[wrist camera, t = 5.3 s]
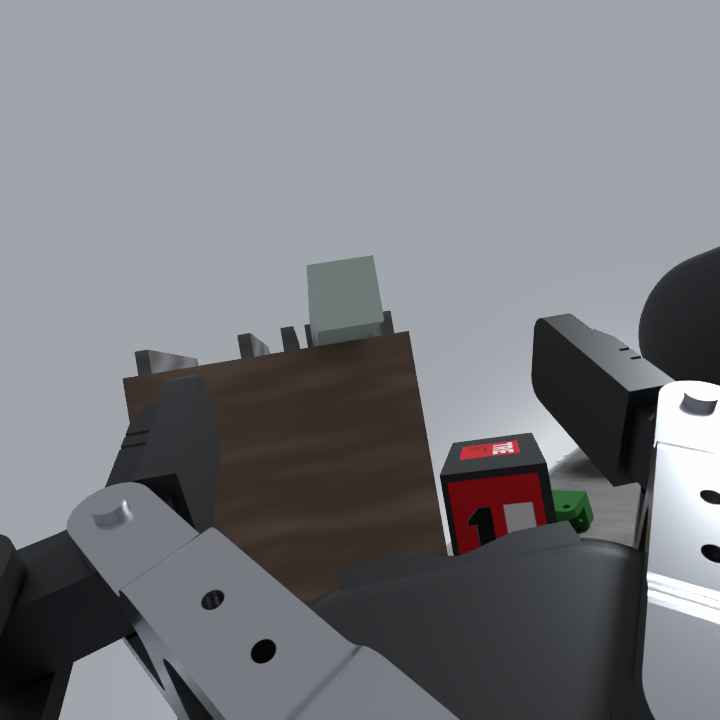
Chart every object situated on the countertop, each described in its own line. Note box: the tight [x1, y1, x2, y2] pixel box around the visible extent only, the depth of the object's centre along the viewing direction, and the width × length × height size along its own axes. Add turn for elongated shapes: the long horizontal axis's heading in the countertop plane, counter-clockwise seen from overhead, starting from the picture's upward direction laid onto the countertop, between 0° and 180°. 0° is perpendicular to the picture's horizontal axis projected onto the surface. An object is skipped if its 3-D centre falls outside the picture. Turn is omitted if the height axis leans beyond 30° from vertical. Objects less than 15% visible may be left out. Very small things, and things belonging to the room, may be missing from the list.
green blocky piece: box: [552, 490, 594, 530], centre depth 85 cm, size 12×6×9 cm, turn 39°
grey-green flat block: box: [305, 256, 384, 348], centre depth 37 cm, size 26×4×6 cm, turn 5°
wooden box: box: [123, 311, 448, 720], centre depth 40 cm, size 14×18×34 cm
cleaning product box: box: [440, 433, 557, 556], centre depth 53 cm, size 16×9×20 cm, turn 166°
